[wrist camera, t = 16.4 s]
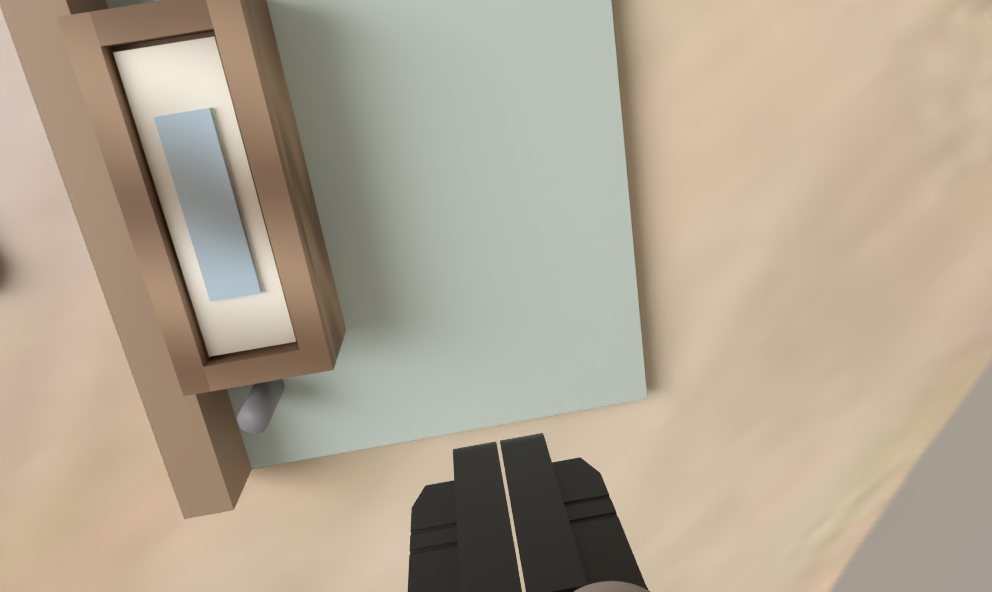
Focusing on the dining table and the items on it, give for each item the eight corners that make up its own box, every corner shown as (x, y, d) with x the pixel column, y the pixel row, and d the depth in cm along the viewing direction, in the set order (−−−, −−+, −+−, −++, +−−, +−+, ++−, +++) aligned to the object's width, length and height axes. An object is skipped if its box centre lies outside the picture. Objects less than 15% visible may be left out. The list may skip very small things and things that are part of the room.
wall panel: (641, 388, 33) (668, 431, 29) (213, 464, 32) (184, 519, 28) (585, -214, 25) (612, -263, 21) (16, -129, 24) (-61, -164, 20)
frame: (346, 330, 29) (333, 370, 26) (215, 352, 29) (183, 396, 26) (266, -1, 25) (236, -12, 21) (113, 23, 25) (55, 17, 21)
